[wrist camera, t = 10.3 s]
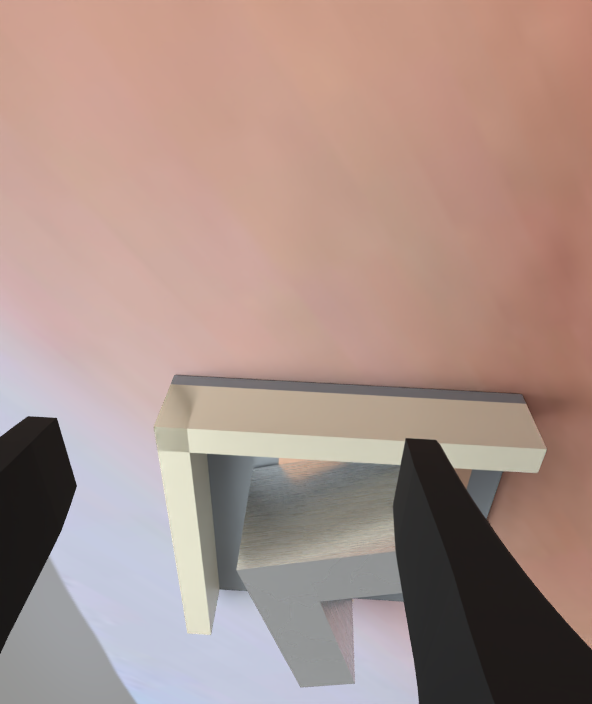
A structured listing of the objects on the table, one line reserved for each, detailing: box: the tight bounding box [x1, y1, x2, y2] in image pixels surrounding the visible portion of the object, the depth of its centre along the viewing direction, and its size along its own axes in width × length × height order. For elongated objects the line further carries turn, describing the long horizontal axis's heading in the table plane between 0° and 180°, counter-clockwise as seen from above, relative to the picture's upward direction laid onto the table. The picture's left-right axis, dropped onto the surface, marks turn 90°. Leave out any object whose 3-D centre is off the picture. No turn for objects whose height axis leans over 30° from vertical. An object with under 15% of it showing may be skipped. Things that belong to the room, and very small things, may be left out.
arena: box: [154, 375, 547, 635], centre depth 25 cm, size 14×14×3 cm
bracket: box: [236, 460, 402, 687], centre depth 24 cm, size 9×8×5 cm
